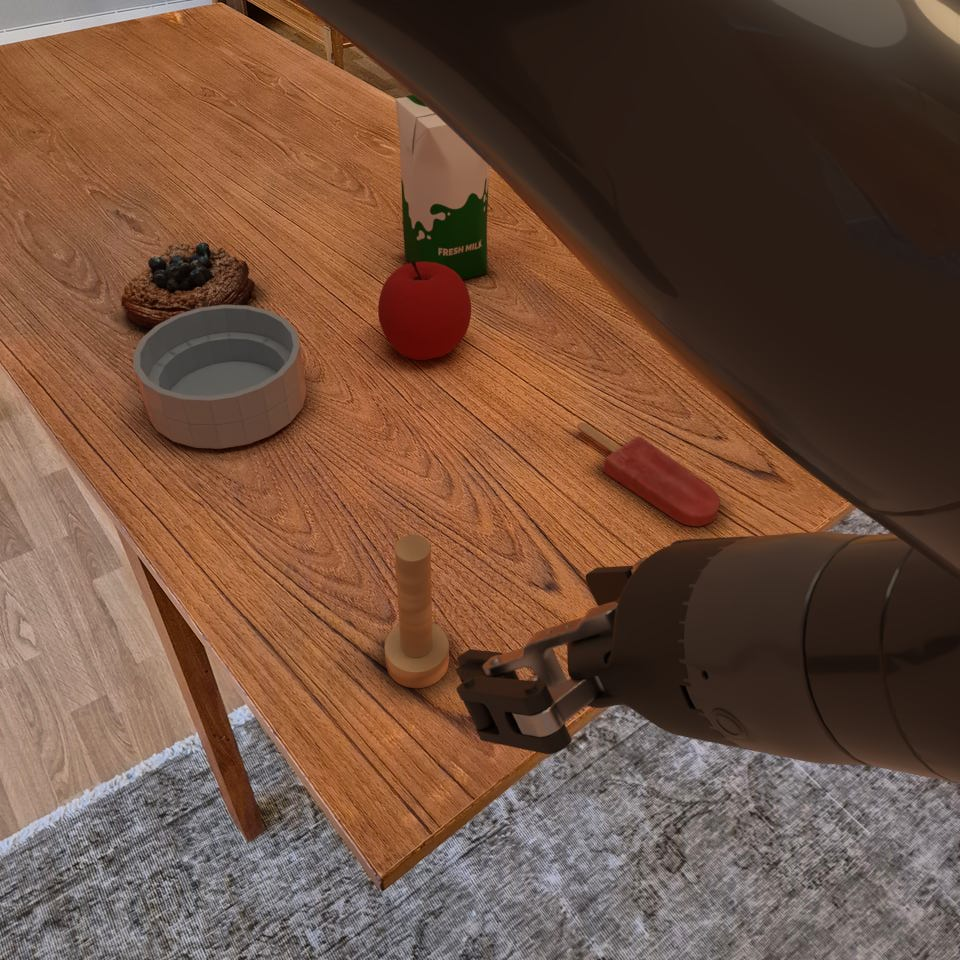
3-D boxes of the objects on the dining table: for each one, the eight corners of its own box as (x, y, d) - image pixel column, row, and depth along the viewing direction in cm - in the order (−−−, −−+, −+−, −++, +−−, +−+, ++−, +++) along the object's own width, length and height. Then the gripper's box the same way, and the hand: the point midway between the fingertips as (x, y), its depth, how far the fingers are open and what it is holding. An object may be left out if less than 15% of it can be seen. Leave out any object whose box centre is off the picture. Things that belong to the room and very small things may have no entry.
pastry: (267, 287, 97) (259, 238, 93) (210, 348, 88) (199, 297, 84) (177, 269, 99) (166, 220, 95) (114, 327, 91) (98, 276, 86)
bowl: (182, 475, 75) (166, 420, 71) (128, 387, 84) (111, 333, 79) (333, 418, 81) (326, 364, 77) (268, 341, 89) (259, 289, 85)
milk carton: (462, 240, 105) (464, 63, 91) (498, 277, 99) (507, 94, 85) (394, 256, 102) (385, 76, 88) (427, 295, 96) (424, 109, 82)
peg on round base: (406, 699, 60) (399, 586, 52) (374, 653, 63) (363, 539, 54) (460, 669, 62) (462, 555, 54) (427, 626, 64) (424, 511, 56)
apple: (454, 381, 85) (455, 291, 78) (366, 364, 87) (359, 274, 80) (480, 329, 92) (483, 241, 85) (398, 314, 93) (393, 227, 87)
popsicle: (596, 406, 80) (732, 496, 73) (594, 420, 82) (727, 511, 74) (562, 427, 78) (698, 523, 70) (560, 442, 79) (693, 537, 72)
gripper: (851, 462, 34) (604, 503, 48) (581, 651, 27) (387, 633, 42) (924, 635, 35) (660, 625, 49) (678, 860, 28) (455, 772, 42)
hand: (535, 629), depth 45 cm, fingers open, 8 cm apart
